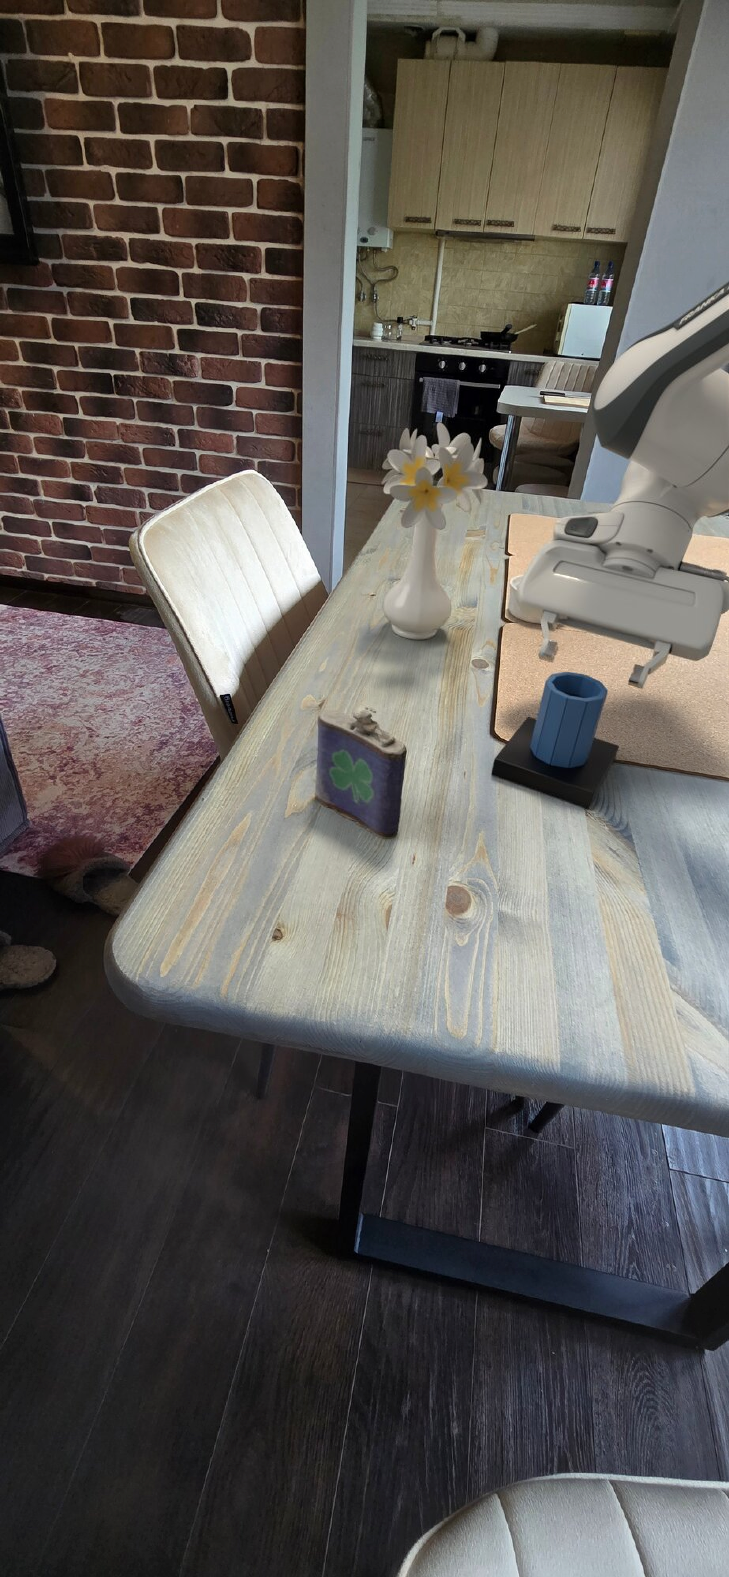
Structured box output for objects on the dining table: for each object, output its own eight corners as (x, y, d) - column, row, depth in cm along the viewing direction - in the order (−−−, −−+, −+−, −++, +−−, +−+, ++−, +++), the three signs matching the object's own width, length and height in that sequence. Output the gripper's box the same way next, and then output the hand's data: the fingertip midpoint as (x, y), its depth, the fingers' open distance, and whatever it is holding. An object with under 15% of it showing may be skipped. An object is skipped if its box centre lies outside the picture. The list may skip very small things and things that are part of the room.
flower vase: (369, 660, 92) (386, 445, 78) (369, 603, 107) (384, 413, 92) (472, 667, 93) (509, 454, 78) (458, 609, 108) (487, 421, 93)
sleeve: (593, 747, 75) (613, 682, 71) (577, 774, 71) (597, 707, 67) (541, 730, 77) (557, 666, 73) (523, 756, 73) (538, 689, 69)
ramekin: (561, 605, 112) (568, 577, 109) (568, 629, 105) (576, 600, 102) (503, 599, 112) (508, 571, 109) (506, 622, 105) (512, 593, 102)
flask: (309, 798, 68) (312, 696, 62) (330, 785, 70) (336, 685, 64) (386, 843, 64) (399, 739, 58) (407, 828, 66) (421, 726, 60)
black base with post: (614, 761, 77) (636, 694, 72) (588, 809, 70) (611, 738, 65) (524, 731, 81) (539, 666, 76) (490, 775, 74) (505, 705, 69)
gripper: (737, 591, 76) (689, 712, 75) (547, 546, 83) (501, 656, 82) (749, 560, 70) (697, 691, 69) (543, 515, 77) (493, 632, 76)
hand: (589, 671), depth 75 cm, fingers open, 8 cm apart
